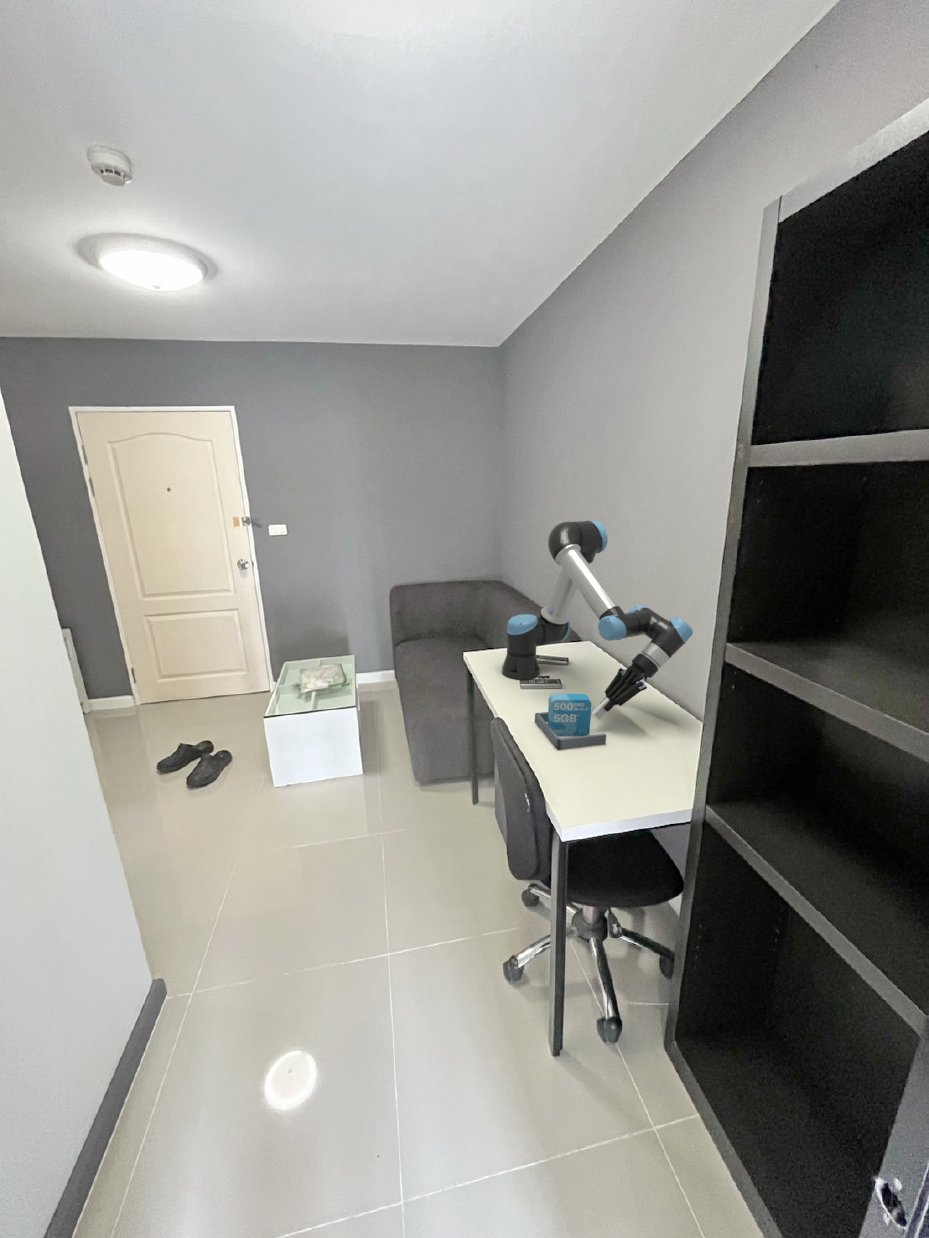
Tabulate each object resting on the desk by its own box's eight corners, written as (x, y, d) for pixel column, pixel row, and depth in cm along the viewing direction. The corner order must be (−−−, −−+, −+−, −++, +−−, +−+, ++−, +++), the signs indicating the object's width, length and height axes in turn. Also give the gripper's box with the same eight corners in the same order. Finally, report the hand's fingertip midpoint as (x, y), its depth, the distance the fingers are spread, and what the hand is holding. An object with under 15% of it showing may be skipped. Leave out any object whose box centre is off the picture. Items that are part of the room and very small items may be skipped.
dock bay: (534, 721, 155) (535, 713, 154) (578, 717, 158) (578, 708, 157) (557, 750, 138) (558, 740, 137) (605, 744, 141) (606, 734, 140)
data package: (549, 736, 146) (551, 699, 143) (547, 729, 150) (548, 693, 147) (589, 736, 146) (592, 699, 143) (585, 729, 150) (588, 693, 147)
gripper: (669, 675, 143) (613, 732, 144) (644, 661, 155) (593, 714, 156) (655, 660, 141) (598, 718, 141) (630, 646, 153) (578, 700, 154)
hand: (595, 716), depth 149 cm, fingers closed
